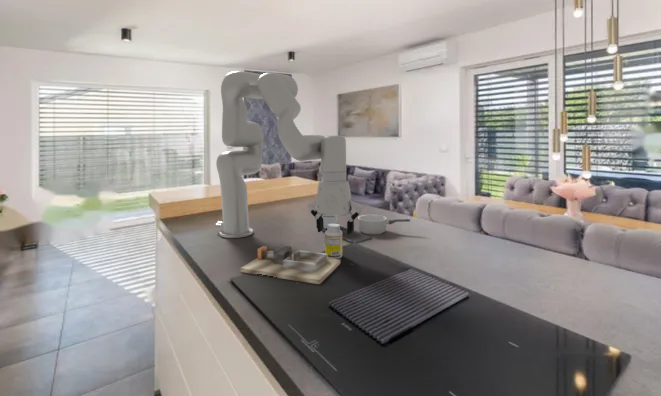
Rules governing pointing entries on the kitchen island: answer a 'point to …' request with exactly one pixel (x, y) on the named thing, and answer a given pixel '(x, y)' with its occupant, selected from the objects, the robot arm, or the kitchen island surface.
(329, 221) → the syrup box
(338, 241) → the supplement bottle
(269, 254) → the lock pin
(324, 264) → the dock
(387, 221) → the saucepan
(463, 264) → the kitchen island surface
